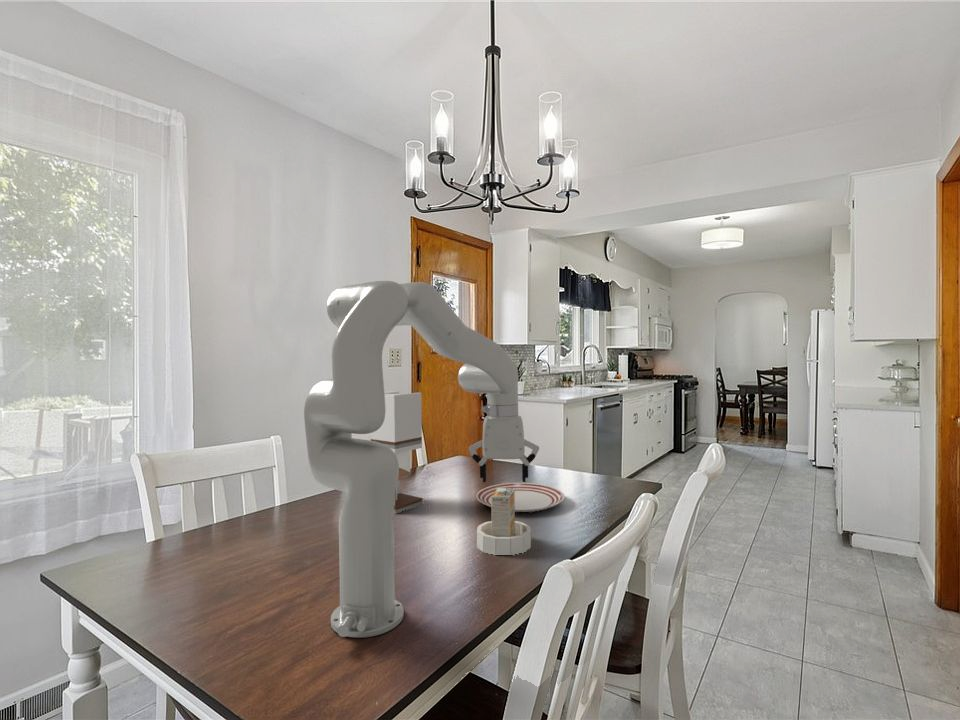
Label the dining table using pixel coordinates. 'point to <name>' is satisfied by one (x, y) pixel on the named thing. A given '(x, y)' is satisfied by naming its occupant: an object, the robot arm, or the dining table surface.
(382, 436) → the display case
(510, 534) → the supplement box
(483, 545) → the white faceted ring
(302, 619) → the dining table surface
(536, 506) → the dinner plate
